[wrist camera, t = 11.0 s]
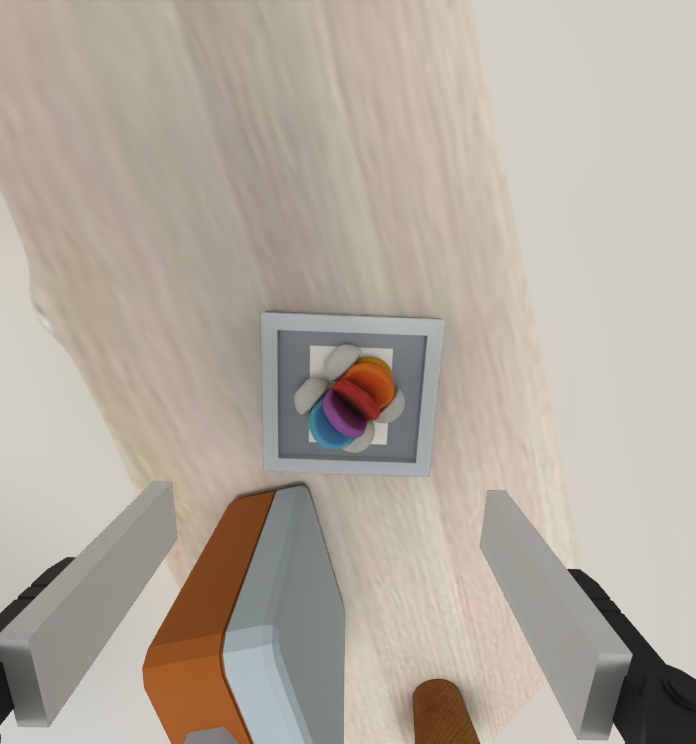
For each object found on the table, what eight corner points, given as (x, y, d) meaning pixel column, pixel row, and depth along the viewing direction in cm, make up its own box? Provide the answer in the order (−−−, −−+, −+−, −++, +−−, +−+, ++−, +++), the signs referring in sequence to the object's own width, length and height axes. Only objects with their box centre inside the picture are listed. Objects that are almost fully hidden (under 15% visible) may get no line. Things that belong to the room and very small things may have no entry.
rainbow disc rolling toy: (414, 387, 34) (431, 412, 27) (347, 453, 36) (347, 493, 29) (352, 328, 33) (352, 339, 26) (285, 399, 35) (269, 427, 28)
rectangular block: (231, 494, 39) (104, 714, 19) (307, 478, 38) (261, 685, 18) (277, 624, 43) (214, 919, 23) (346, 611, 42) (344, 900, 22)
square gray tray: (266, 311, 34) (260, 312, 32) (439, 318, 34) (445, 320, 32) (268, 460, 38) (263, 471, 35) (424, 466, 38) (429, 477, 36)
